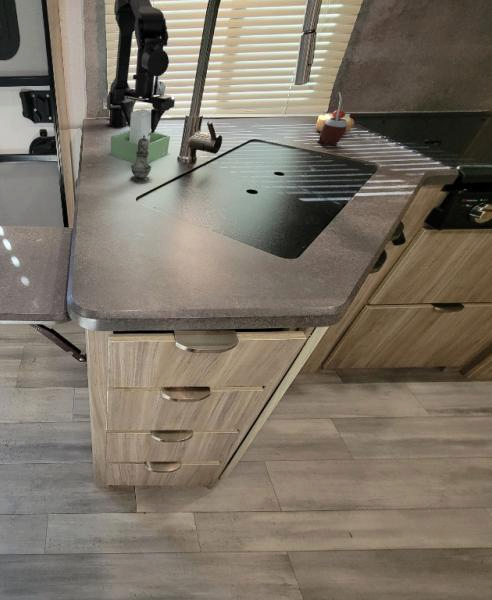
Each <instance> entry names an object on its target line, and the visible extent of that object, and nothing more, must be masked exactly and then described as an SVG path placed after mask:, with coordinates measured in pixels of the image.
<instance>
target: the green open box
mask: <svg viewBox="0 0 492 600" xmlns="http://www.w3.org/2000/svg"><path fill="white" fill-rule="evenodd" d="M129 138H130V129H129V130H127V131H124V132H120V133H118V134H114V135H111V136H110V155H111V156H114V157H117V158H120V159H123V160H126V161H129V162H132V163H134V164H135V163H136V159H137V154H136V152H137V150H138V143H134V142H131V141H129ZM170 138H171V136H170V135H168V134H164V133H159V132H156V131H155V132H154V133H151V134H150V143H149V145H148V152H149V154H148V158H147V163H148V164H149V163H151V162H153V161H155V160H157V159H159V158H162V157H164V156H167V155H168V154H169V153H168V152H169V146H170Z"/></svg>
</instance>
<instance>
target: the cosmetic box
mask: <svg viewBox="0 0 492 600" xmlns="http://www.w3.org/2000/svg"><path fill="white" fill-rule="evenodd" d="M129 130H130V138H129V141H131V142H134V143H138V141H139V140H140V139H142V138H143V136H144V135H145V138H146V139H147V140H148V141H149V143H150V134H151V109H143V108H141V109H138V110H133V112H131V122H130V127H129Z"/></svg>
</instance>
